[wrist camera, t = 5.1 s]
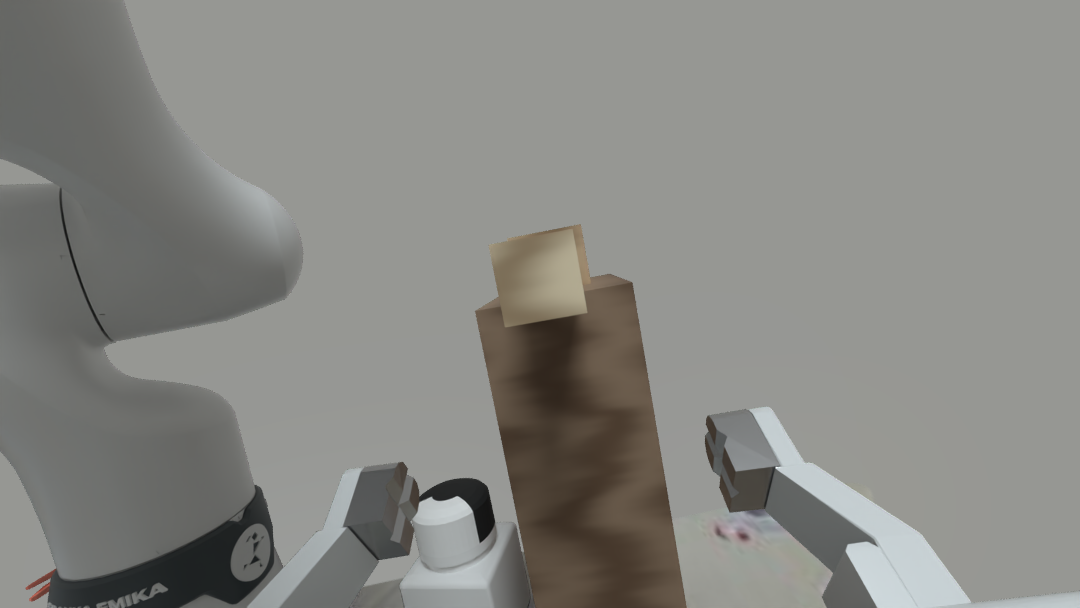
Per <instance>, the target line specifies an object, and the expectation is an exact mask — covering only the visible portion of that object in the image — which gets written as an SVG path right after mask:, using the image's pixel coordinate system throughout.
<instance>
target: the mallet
mask: <svg viewBox="0 0 1080 608" xmlns="http://www.w3.org/2000/svg"><path fill="white" fill-rule="evenodd" d="M489 249H490V254H491V259H492V265H493V269H494V275H495V280H496V284H497V290H498V295H499V300H500V305H501V310H502V315H503V320H504V325H505V327H511V326H517V325H522V324H528V323H533V322H539V321H545V320H550V319H556V318H561V317H567V316H573V315H578V314H584V313H587V307H586V301H585V296H584V290H583V285H585V284H591V280H590V274H589V269H588V263H587V258H586V251H585V246H584V240H583V235H582V229H581V225H580V224H579V225H574V226H569V227H564V228H559V229H554V230H549V231H543V232H539V233H533V234H528V235H523V236H518V237H512V238H508V241H506V242H501V243H496V244H491V245H489Z"/></svg>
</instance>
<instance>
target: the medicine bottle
mask: <svg viewBox="0 0 1080 608" xmlns="http://www.w3.org/2000/svg"><path fill="white" fill-rule="evenodd" d="M412 524H413V528H414V532H415V537H416V541H417V545H418V550H419V554H420V556H419V557H418V558H417V560H416V561H415V563H414V564H413V566H412V567H411V569H410V570H409V571H408V573H407V574H406V576H405V577H404V578H403V580H402V581H401V583H400V591H401V595H402V600H403V604H404V608H527V607H528V604H529V600H530V591H529V586H528V582H527V577H526V572H525V567H524V562H523V557H522V552H521V547H520V543H519V538H518V533H517V528H516V524H515V523H513V522H500V523H495V519H494V514H493V510H492V505H491V500H490V495H489V490H488V487H487V486H486V485H485V484H484V483H482V482H481V481H479V480H477V479H472V478H460V479H453V480H449V481H445V482H443V483H440V484H438V485H436V486H434V487H432V488H431V489H429V490H427V491H426V492H425V493H423V494H422V495H421V496H420V497H419V507H418V512H417V514H416V515H415V516H414V518H413V519H412Z"/></svg>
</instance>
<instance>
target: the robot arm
mask: <svg viewBox="0 0 1080 608" xmlns="http://www.w3.org/2000/svg"><path fill="white" fill-rule="evenodd" d="M0 159H3V160H6V161H9V162H11V163H14V164H17V165H19V166H21V167H24V168H26V169H28V170H30V171H33V172H34V173H36V174H38V175H40V176H42V177H44V178H46V179H48V180H49V181H51V182H53V183H51V184H17V185H0V452H1V453H2V454H3V455H4V456H5V457H6V458H7V460H8V461H9V462H10V464H11V465H12V466H13V468H14V469H15V471H16V472H17V474H18V476H19V478H20V480H21V482H22V484H23V486H24V488H25V490H26V492H27V494H28V496H29V498H30V500H31V503H32V505H33V507H34V509H35V512H36V514H37V516H38V519H39V521H40V523H41V526H42V529H43V531H44V534H45V537H46V539H47V542H48V545H49V547H50V550H51V554H52V557H53V560H54V563H55V566H56V569H54V570H53V571H51V572H50V573H48V574H46V575H45V576H43V577H42V578H40V579H38V580H37V581H35V582H33V583H32V584H30V585H29V586H27V587H26V590H28V589H30V588H32V587H35V586H36V585H38V584H40V583H42V582H44V581H46V580H48V579H50V578H51V581H50V582H49V583H48V584H46V585H45V586H43V587H42V588H41V589H40V590H39V591H38V592H37V593H35V594H34V595H33V596H32V597H31V598H30V599H29V600H30V601H35V600H36V599H38V598H40V597H41V596H43V595H44V594H46V593H47V592H49V596H48V605H47V608H349V606H350V605H351V603H352V602H353V600H354V599H355V597H356V596H357V594H358V593H359V591H360V590H361V588H362V587H363V585H364V584H365V582H366V581H367V579H368V578H369V576H370V575H371V573H372V572H373V570H374V569H375V567H376V566H377V564H378V562H379V561H378V560H382V559H388V558H394V557H400V556H406V555H409V553H410V548H411V543H412V538H413V533H414V528H413V526H412V524H411V522H410V521H411V520H412V519H413V518H414V516H415V515H416V514H417V512H418V507H419V489H418V485H417V483H416V481H415V479H414V478H413V477H411V476H409V475H407V470H408V468H407V467H406V465H405V464H404V463H403V462H398V463H391V464H384V465H376V466H369V467H360V468H353V469H347V470H346V471H345V473H344V474H343V475H342V477H341V480H340V483H339V486H338V489H337V491H336V494H335V497H334V499H333V502H332V505H331V508H330V510H329V513H328V516H327V519H326V521H325V524H324V527H323V530H321V531H317V532H316V533H315V534H314V535H313V536H312V537H311V538H310V539H309V541H307V543H306V544H305V545H304V546H303V547H302V548H301V549H300V550H299V551H298V552H297V554H295V556H294V557H293V558H292V559H291V560H290V561H289V562H288V563H287V564H286V565H285V566H284V567H283V565H282V563H281V561H280V558H279V556H278V554H277V552H276V549H275V547H274V542H273V526H272V522H271V519H270V515H269V512H268V508H267V507H268V505H267V502H266V499H265V498H264V496H263V492H262V490H261V488H260V487H259V486H257V485H254V482H253V479H252V475H251V471H250V467H249V463H248V460H247V456H246V452H245V448H244V444H243V441H242V437H241V434H240V429H239V426H238V422H237V418H236V415H235V411H234V410H233V408H232V406H231V405H230V404H229V403H228V402H227V401H226V400H225V399H224V398H223V397H222V396H220V395H219V394H217V393H215V392H213V391H211V390H208V389H205V388H202V387H198V386H192V385H187V384H181V383H174V382H166V381H156V380H145V379H138V378H134V377H130V376H128V375H125V374H124V373H122V372H121V371H119V370H118V369H117V368H116V367H115V366H114V365H113V364H112V363H111V362H110V360H109V359H108V357H107V355H106V353H105V350H104V347H105V346H107V345H109V344H112V343H116V341H121V340H126V339H131V338H136V337H142V336H147V335H152V334H158V333H163V332H169V331H174V330H179V329H185V328H190V327H195V326H201V325H206V324H211V323H217V322H222V321H227V320H229V319H232V318H235V317H238V316H241V315H244V314H246V313H249V312H252V311H255V310H258V309H260V308H263V307H266V306H268V305H271V304H273V303H276V302H279V301H282V300H284V299H285V298H287V296H288V295H289V294H290V293H291V291H292V290H293V288H294V286H295V285H296V283H297V280H298V278H299V275H300V272H301V269H302V263H303V247H302V242H301V237H300V234H299V231H298V229H297V227H296V225H295V223H294V221H293V219H292V218H291V216H290V215H289V213H288V212H287V211H286V210H285V208H284V207H283V206H282V205H281V204H280V203H279V202H278V201H277V200H276V199H275V198H273V197H272V196H271V195H270V194H269V193H267V192H266V191H264V190H263V189H261V188H259V187H257V186H255V185H253V184H251V183H248V182H246V181H244V180H242V179H241V178H239V177H237V176H236V175H234V174H232V173H231V172H229V171H227V170H226V169H225V168H223V167H222V166H221V165H219V164H218V163H216V162H215V161H214V160H213V159H211V158H210V157H209V156H208V155H207V154H205V153H204V152H203V151H202V150H201V149H200V148H199V147H198V146H197V145H196V144H195V143H194V142H193V141H192V140H191V139H190V138H189V137H188V136H187V134H186V133H185V132H184V131H183V130H182V129H181V127H180V126H179V125H178V123H177V122H176V121H175V120H174V118H173V117H172V115H171V114H170V112H169V111H168V109H167V107H166V106H165V104H164V102H163V101H162V99H161V98H160V95H159V93H158V91H157V89H156V87H155V85H154V83H153V81H152V78H151V76H150V73H149V71H148V68H147V66H146V63H145V61H144V58H143V55H142V52H141V50H140V47H139V44H138V41H137V39H136V36H135V33H134V30H133V27H132V24H131V21H130V18H129V15H128V12H127V9H126V6H125V3H124V0H0ZM706 425H707V428H708V430H709V432H708V433H707V434H706V435H705V446H706V452H707V456H708V459H709V462H710V465H711V468H712V470H713V472H715V473H716V474H717V475H719V476H720V487H719V488H720V490H721V492H722V495H723V497H724V500H725V502H726V505H727V507H728V509H729V512H730V513H731V512H740V511H750V510H759V509H765V511H766V512H767V513H768V514H769V515H770V516H771V517H772V518H773V519H775V520H776V521H777V522H778V523H779V524H780V525H781V526H782V527H783V528H784V529H786V530H787V531H788V532H789V533H790V534H791V535H792V536H793V537H794V538H795V539H797V540H798V541H799V542H800V543H801V544H802V545H803V546H804V547H805V548H807V549H808V550H809V551H810V552H811V553H812V554H813V555H814V556H815V557H816V558H818V559H819V560H820V561H821V562H822V563H823V564H824V565H825V566H826V567H827V568H829V569H830V570H831V571H832V572H833V575H832V577H831V579H830V581H829V583H828V585H827V587H826V589H825V591H824V594H823V596H822V598H823V600H824V603H825V605H826V607H827V608H1080V591H1072V592H1063V593H1054V594H1045V595H1036V596H1027V597H1018V598H1009V599H1000V600H992V601H983V602H974V603H972V602H971V601H970V600H969V598H968V597H967V596H966V594H965V593H964V592H963V590H962V589H961V588H960V586H959V585H958V583H957V582H956V581H955V579H954V578H953V577H952V575H951V574H950V573H949V571H948V570H947V569H946V567H945V566H944V564H943V563H942V562H941V561H940V559H939V558H938V556H937V555H936V554H935V552H934V551H933V550H932V548H931V547H930V545H929V544H928V543H927V541H926V540H925V539H924V537H923V536H922V535H921V533H919V532H917V531H916V530H914V529H913V528H911V527H909V526H908V525H907V524H905V523H904V522H902V521H900V520H899V519H897V518H896V517H894V516H893V515H891V514H890V513H888V512H887V511H885V510H884V509H882V508H881V507H879V506H878V505H876V504H875V503H873V502H871V501H870V500H868V499H867V498H865V497H864V496H862V495H861V494H859V493H858V492H856V491H855V490H853V489H851V488H850V487H848V486H847V485H845V484H844V483H842V482H841V481H839V480H838V479H836V478H834V477H833V476H832V475H830V474H828V473H827V472H825V471H824V470H822V469H821V468H819V467H818V466H816V465H815V464H813V463H811V462H810V463H805V462H804V460H803V459H802V457H801V456H800V454H799V453H798V451H797V449H796V448H795V446H794V444H793V442H792V441H791V439H790V438H789V436H788V434H787V433H786V431H785V429H784V428H783V426H782V425H781V423H780V421H779V420H778V418H777V416H776V415H775V413H774V411H773V410H772V409H771V408H769V407H760V408H755V409H749V410H746V409H744V410H738V411H732V412H726V413H720V414H714V415H709V416H708V417H707V419H706Z"/></svg>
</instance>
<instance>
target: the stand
mask: <svg viewBox="0 0 1080 608" xmlns="http://www.w3.org/2000/svg"><path fill="white" fill-rule="evenodd" d="M590 280H591V284H585V285H583V290H584V296H585V301H586V307H587V313H584V314H578V315H573V316H567V317H561V318H556V319H550V320H545V321H539V322H533V323H528V324H522V325H517V326H511V327H505V325H504V320H503V315H502V310H501V305H500V300H499V297H497V298H496V299H494V300H492V301H491V302H489V303H487V304H486V305H484V306H483V307H481V308H479V309H478V310H476V311H475V312H476V317H477V322H478V328H479V332H480V337H481V342H482V347H483V352H484V357H485V362H486V367H487V371H488V376H489V381H490V386H491V391H492V396H493V401H494V406H495V410H496V416H497V421H498V425H499V430H500V435H501V440H502V445H503V450H504V455H505V460H506V465H507V469H508V475H509V479H510V484H511V489H512V494H513V499H514V504H515V509H516V514H517V519H518V523H519V529H520V533H521V538H522V543H523V548H524V553H525V558H526V563H527V568H528V573H529V578H530V583H531V587H532V592H533V597H534V602H535V607H536V608H687V607H686V601H685V595H684V589H683V583H682V577H681V571H680V565H679V559H678V553H677V547H676V541H675V535H674V529H673V523H672V517H671V511H670V506H669V500H668V494H667V487H666V481H665V476H664V469H663V464H662V457H661V452H660V446H659V439H658V433H657V427H656V421H655V415H654V409H653V403H652V397H651V392H650V386H649V380H648V373H647V368H646V361H645V356H644V350H643V344H642V338H641V331H640V325H639V319H638V314H637V308H636V301H635V295H634V290H633V283H632V282H630V281H627V280H625V279H622V278H619V277H617V276H614V275H611V274H607V275H601V276H596V277H590Z"/></svg>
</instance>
